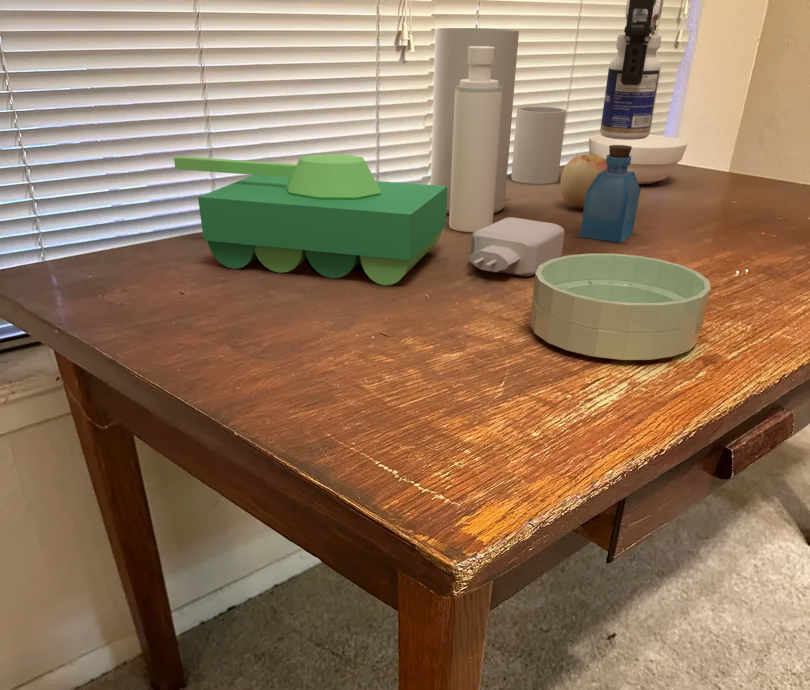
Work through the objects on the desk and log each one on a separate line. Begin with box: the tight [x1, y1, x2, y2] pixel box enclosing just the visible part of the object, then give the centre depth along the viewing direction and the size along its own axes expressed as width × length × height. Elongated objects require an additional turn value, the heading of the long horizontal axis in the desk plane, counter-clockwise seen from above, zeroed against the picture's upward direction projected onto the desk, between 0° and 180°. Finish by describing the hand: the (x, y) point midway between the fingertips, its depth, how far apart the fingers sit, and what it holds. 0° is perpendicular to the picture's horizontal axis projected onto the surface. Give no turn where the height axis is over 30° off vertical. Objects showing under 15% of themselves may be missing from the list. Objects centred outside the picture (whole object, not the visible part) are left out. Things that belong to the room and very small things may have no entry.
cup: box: [510, 106, 567, 185], centre depth 145 cm, size 9×9×12 cm
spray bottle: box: [448, 46, 503, 234], centre depth 109 cm, size 7×7×25 cm
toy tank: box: [173, 153, 447, 286], centre depth 99 cm, size 18×12×35 cm
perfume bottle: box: [579, 145, 641, 244], centre depth 110 cm, size 6×6×12 cm
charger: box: [468, 216, 565, 277], centre depth 97 cm, size 5×9×15 cm
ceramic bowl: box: [529, 253, 712, 361], centre depth 78 cm, size 17×17×6 cm
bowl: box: [588, 133, 688, 185], centre depth 146 cm, size 18×18×7 cm
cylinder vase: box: [430, 27, 520, 215], centre depth 120 cm, size 12×12×25 cm
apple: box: [560, 153, 607, 208], centre depth 126 cm, size 9×9×8 cm
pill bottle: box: [599, 34, 662, 140], centre depth 86 cm, size 6×6×10 cm
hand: (632, 81), depth 85 cm, fingers closed on pill bottle, 5 cm apart
